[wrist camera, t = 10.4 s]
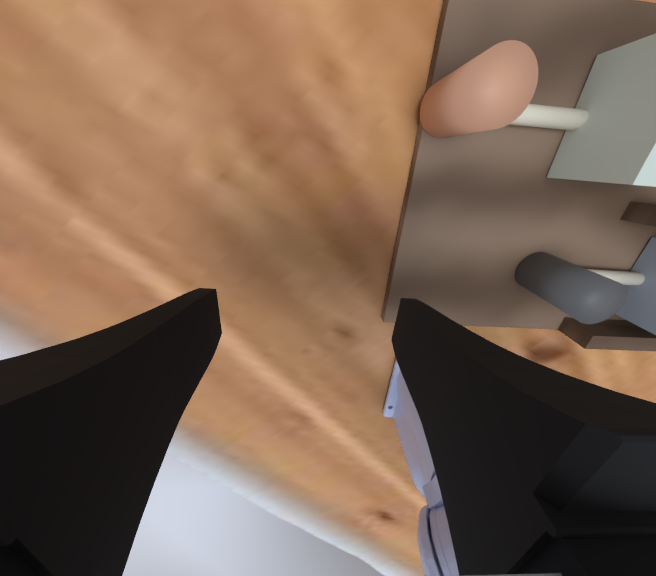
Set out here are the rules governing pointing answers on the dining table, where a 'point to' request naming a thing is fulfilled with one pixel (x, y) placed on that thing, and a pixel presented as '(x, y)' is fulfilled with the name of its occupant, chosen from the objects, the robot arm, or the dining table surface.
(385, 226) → the dining table surface
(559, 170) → the sage cube mallet
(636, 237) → the shelf
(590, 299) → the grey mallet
